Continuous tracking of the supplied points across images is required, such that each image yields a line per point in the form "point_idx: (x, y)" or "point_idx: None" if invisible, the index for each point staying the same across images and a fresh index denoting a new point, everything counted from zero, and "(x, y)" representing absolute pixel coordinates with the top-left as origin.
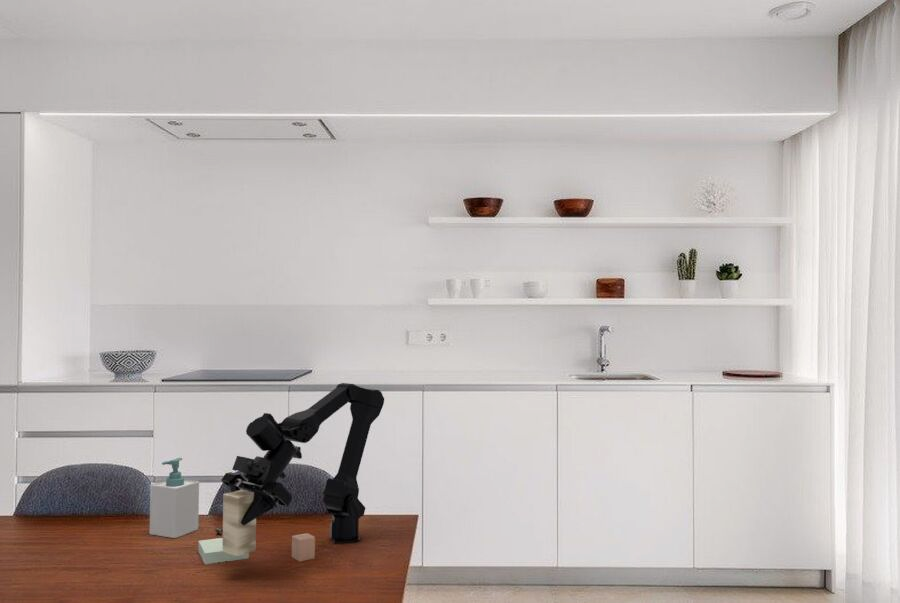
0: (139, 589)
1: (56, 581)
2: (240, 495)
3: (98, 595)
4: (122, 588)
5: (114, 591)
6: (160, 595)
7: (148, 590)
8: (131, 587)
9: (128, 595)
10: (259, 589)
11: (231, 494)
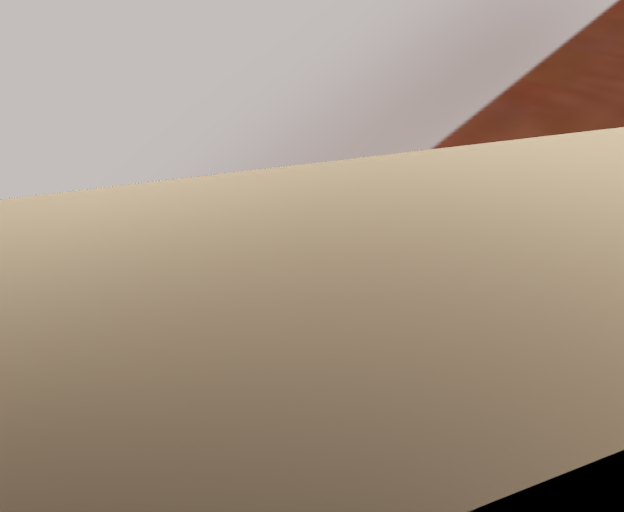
0: (556, 120)
1: None
2: (28, 452)
3: (594, 19)
4: (614, 85)
5: (599, 59)
6: (433, 147)
7: (519, 137)
8: (602, 108)
9: (519, 79)
10: None
11: (434, 296)
